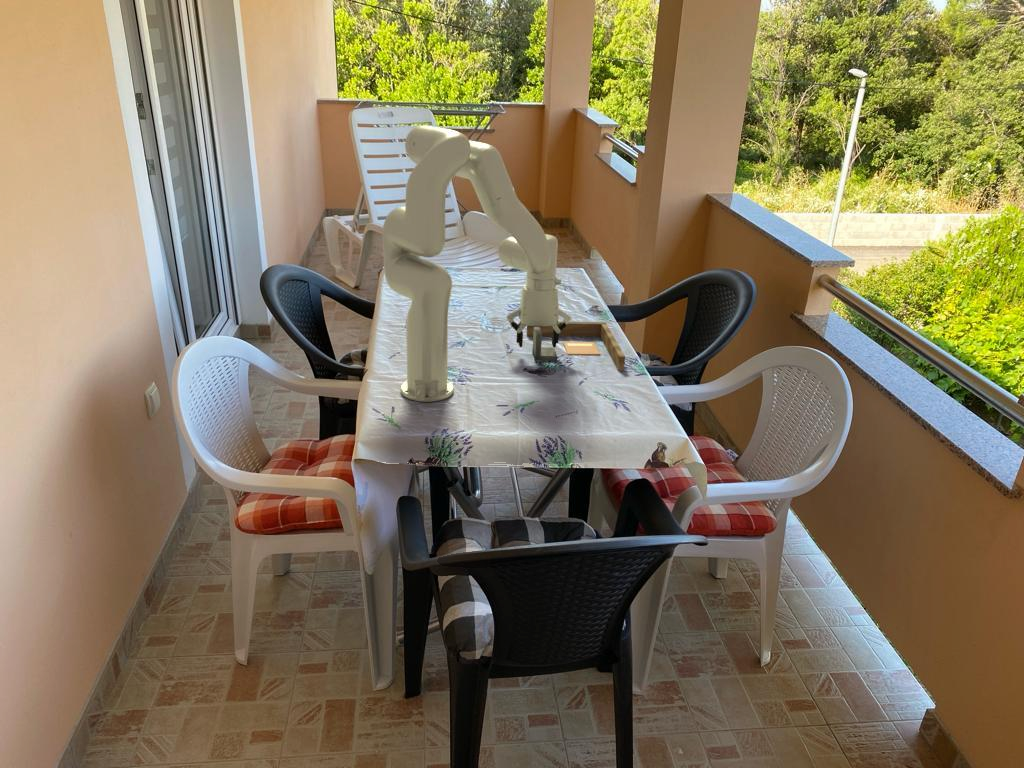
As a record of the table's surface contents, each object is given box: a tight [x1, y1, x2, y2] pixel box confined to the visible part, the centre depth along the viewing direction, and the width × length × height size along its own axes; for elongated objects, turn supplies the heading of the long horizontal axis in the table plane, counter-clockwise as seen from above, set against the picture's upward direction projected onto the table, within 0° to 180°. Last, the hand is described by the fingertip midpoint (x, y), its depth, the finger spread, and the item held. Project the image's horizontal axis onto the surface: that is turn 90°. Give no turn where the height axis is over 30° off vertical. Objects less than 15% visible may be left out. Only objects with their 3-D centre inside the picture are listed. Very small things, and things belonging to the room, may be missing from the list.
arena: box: [526, 321, 626, 372], centre depth 204 cm, size 26×23×4 cm
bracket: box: [531, 327, 558, 362], centre depth 199 cm, size 6×6×8 cm
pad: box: [562, 341, 601, 356], centre depth 207 cm, size 9×9×1 cm
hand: (537, 345), depth 199 cm, fingers open, 8 cm apart
